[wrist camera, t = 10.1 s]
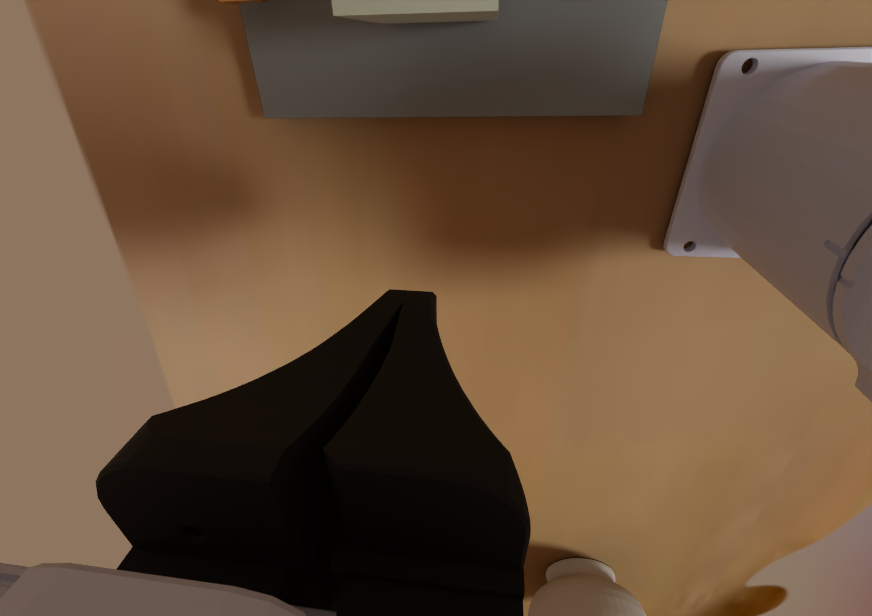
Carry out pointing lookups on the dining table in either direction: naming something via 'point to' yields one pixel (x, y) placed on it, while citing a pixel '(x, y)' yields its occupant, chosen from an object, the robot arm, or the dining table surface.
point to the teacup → (583, 591)
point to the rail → (243, 1)
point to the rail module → (416, 10)
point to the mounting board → (455, 61)
